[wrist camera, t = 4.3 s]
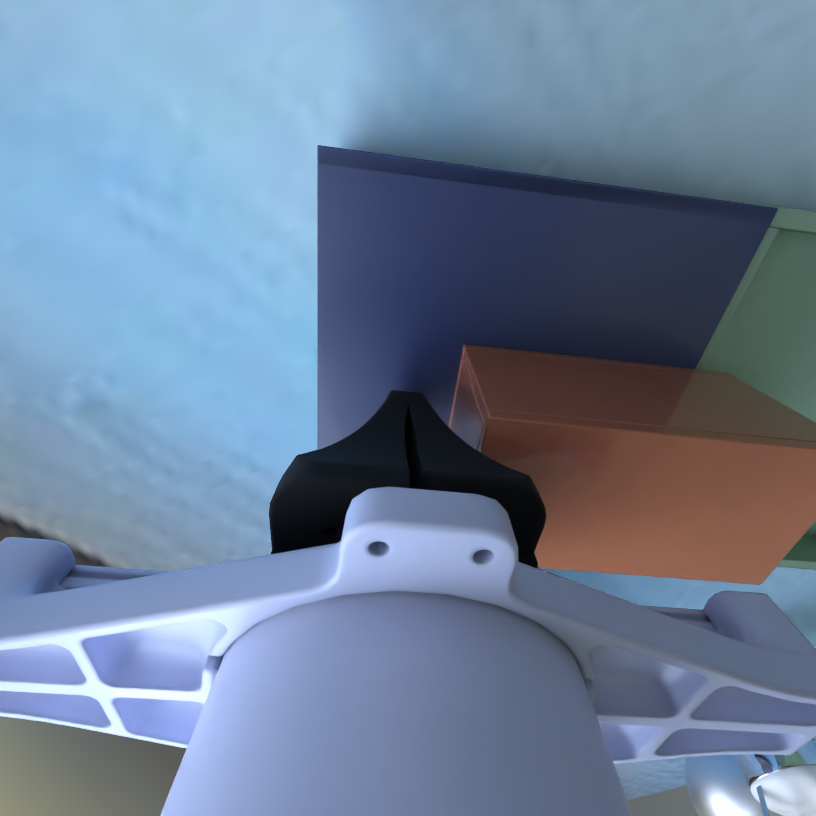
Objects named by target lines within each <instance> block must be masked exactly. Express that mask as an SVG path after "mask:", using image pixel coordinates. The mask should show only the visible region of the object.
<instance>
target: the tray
mask: <svg viewBox="0 0 816 816" xmlns="http://www.w3.org/2000/svg"><path fill="white" fill-rule="evenodd" d="M759 206H766V207H774V208H778V211H777V213H776V215H775V217H774V218H773V220H772V222H771V224H770V226H769V228H768V230H767V232H766V234H765V236H764V238H763V240H762V242H761V243H760V245H759V247H758V249H757V251H756V253H755V255H754V257H753V259H752V261H751V263H750V265H749V267H748V269H747V270H746V272H745V274H744V276H743V278H742V280H741V282H740V284H739V286H738V288H737V290H736V292H735V294H734V295H733V297H732V299H731V301H730V303H729V305H728V307H727V309H726V311H725V313H724V315H723V317H722V319H721V320H720V322H719V324H718V326H717V328H716V330H715V332H714V334H713V336H712V338H711V340H710V342H709V344H708V345H707V347H706V349H705V351H704V353H703V355H702V357H701V359H700V361H699V363H698V365H697V367H696V369H700V370H710V371H719V372H727V373H729V374H731V375H732V376H734V377H736V378H738V379H740V380H741V381H743V382H745V383H747V384H748V385H750V386H752V387H754V388H755V389H757V390H759V391H761V392H763V393H764V394H766V395H768V396H770V397H771V398H773V399H775V400H777V401H779V402H780V403H782V404H784V405H786V406H787V407H789V408H791V409H793V410H794V411H796V412H798V413H800V414H802V415H803V416H805V417H807V418H809V419H810V420H812V421H814V422H816V211H810V210H803V209H795V208H788V207H781V206H769V205H759ZM776 567H787V568H800V569H812V570H816V521H815V522H814V523H813V525H812V526H811V527H810V528H809V529H808V530H807V531H806V533H805V534H804V535H803V536H802V537H801V538H800V540H799V541H798V542H797V543H796V544H795V545H794V547H793V548H792V549H791V550H790V551H789V552H788V554H787V555H786V556H785V557H784V558H783V559H782V560H781V562H780V563H779V564H778V565H777V566H776Z"/></svg>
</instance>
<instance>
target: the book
mask: <svg viewBox="0 0 816 816" xmlns="http://www.w3.org/2000/svg"><path fill="white" fill-rule="evenodd" d="M777 211H778V208H774V207H766V206H759V205H752V204H744V203H737V202H730V201H722V200H715V199H708V198H701V197H693V196H686V195H679V194H671V193H664V192H657V191H649V190H642V189H635V188H627V187H620V186H613V185H605V184H598V183H591V182H583V181H576V180H569V179H561V178H554V177H547V176H539V175H532V174H525V173H518V172H510V171H503V170H496V169H488V168H481V167H474V166H466V165H459V164H452V163H444V162H437V161H430V160H422V159H415V158H408V157H400V156H393V155H386V154H378V153H371V152H364V151H356V150H349V149H342V148H335V147H327V146H320V145H318V450H319V449H322V448H324V447H327V446H329V445H332V444H334V443H336V442H338V441H340V440H342V439H344V438H346V437H347V436H349V435H351V434H352V433H354V432H355V431H356V430H358V429H359V428H360V427H361V426H363V425H364V424H365V423H366V422H367V421H368V420H369V419H370V418H371V417H372V416H373V415H374V414H375V413H376V412H377V410H378V409H379V408H380V407H381V405H382V404H383V403H384V401H385V400H386V398H387V396H388V394H389V392H390V391H392V390H397V391H407V392H417V393H423V394H424V396H425V397H426V399H427V400H428V402H429V403H430V405H431V406H432V407H433V409H434V410H435V412H436V413H437V414H438V415H439V417H440V418H441V419H442V420H443V422H444V423H445V424H446V425H447V426H448V422H449V417H450V412H451V407H452V401H453V396H454V391H455V386H456V380H457V375H458V370H459V365H460V359H461V354H462V349H463V345H464V344H466V345H475V346H485V347H494V348H504V349H513V350H522V351H532V352H541V353H550V354H560V355H569V356H578V357H588V358H597V359H607V360H616V361H625V362H635V363H644V364H653V365H663V366H672V367H681V368H691V369H696V367H697V365H698V363H699V361H700V359H701V357H702V355H703V353H704V351H705V349H706V347H707V345H708V344H709V342H710V340H711V338H712V336H713V334H714V332H715V330H716V328H717V326H718V324H719V322H720V320H721V319H722V317H723V315H724V313H725V311H726V309H727V307H728V305H729V303H730V301H731V299H732V297H733V295H734V294H735V292H736V290H737V288H738V286H739V284H740V282H741V280H742V278H743V276H744V274H745V272H746V270H747V269H748V267H749V265H750V263H751V261H752V259H753V257H754V255H755V253H756V251H757V249H758V247H759V245H760V243H761V242H762V240H763V238H764V236H765V234H766V232H767V230H768V228H769V226H770V224H771V222H772V220H773V218H774V217H775V215H776V213H777Z"/></svg>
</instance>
